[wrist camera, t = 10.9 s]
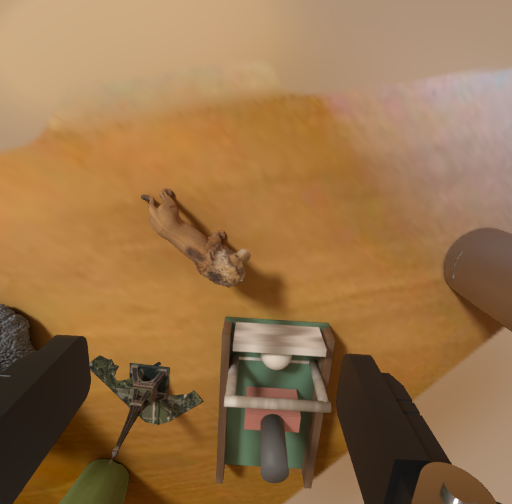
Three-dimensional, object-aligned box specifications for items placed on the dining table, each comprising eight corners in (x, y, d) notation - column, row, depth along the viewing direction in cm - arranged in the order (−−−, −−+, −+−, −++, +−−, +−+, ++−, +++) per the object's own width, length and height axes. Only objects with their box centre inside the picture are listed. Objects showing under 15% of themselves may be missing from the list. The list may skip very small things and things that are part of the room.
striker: (296, 387, 45) (308, 464, 34) (294, 404, 46) (305, 484, 35) (246, 384, 45) (242, 460, 34) (245, 401, 46) (241, 481, 35)
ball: (294, 340, 39) (293, 374, 39) (290, 336, 43) (289, 367, 43) (262, 338, 39) (260, 372, 39) (261, 334, 43) (259, 365, 43)
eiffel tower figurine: (85, 362, 46) (19, 442, 33) (137, 325, 44) (87, 396, 31) (155, 428, 50) (119, 524, 37) (205, 397, 48) (186, 486, 35)
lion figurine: (257, 240, 40) (258, 264, 31) (236, 273, 41) (230, 305, 33) (152, 177, 38) (121, 185, 29) (133, 215, 39) (98, 233, 31)
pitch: (328, 323, 43) (347, 370, 34) (307, 461, 51) (317, 531, 41) (225, 316, 43) (216, 362, 34) (219, 456, 51) (210, 525, 41)
